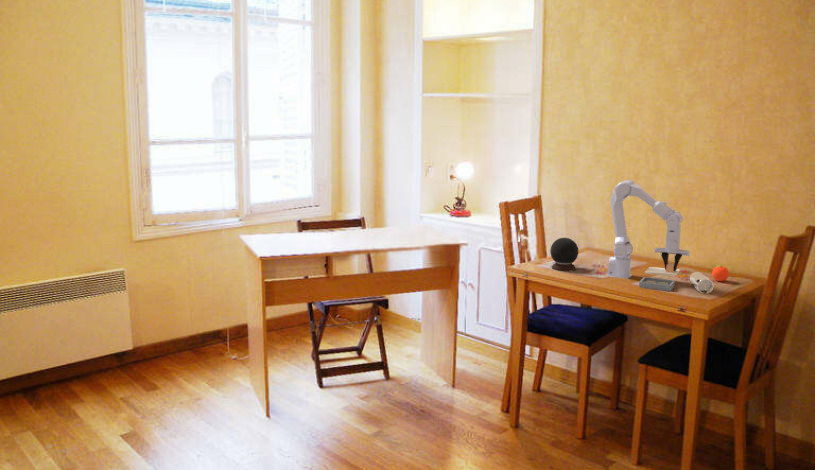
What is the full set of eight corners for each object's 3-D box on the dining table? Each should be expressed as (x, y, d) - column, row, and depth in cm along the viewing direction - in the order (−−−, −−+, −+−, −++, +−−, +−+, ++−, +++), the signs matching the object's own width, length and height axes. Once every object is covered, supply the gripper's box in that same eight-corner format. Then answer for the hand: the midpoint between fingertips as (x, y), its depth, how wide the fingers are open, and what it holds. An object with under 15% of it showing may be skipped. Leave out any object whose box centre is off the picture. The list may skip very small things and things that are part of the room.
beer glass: (706, 284, 332) (715, 292, 317) (689, 287, 333) (698, 295, 318) (703, 269, 331) (712, 276, 316) (687, 272, 332) (695, 279, 317)
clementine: (706, 279, 343) (707, 264, 341) (717, 278, 345) (719, 262, 344) (719, 283, 335) (721, 268, 334) (731, 282, 338) (733, 266, 337)
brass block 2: (658, 287, 326) (658, 283, 325) (657, 286, 327) (657, 282, 327) (667, 288, 325) (668, 283, 325) (667, 287, 327) (667, 282, 326)
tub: (638, 288, 326) (639, 281, 326) (643, 283, 335) (644, 276, 334) (670, 292, 320) (670, 285, 320) (674, 287, 329) (674, 280, 328)
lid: (645, 273, 334) (645, 264, 334) (649, 268, 343) (649, 260, 342) (675, 276, 328) (676, 267, 327) (679, 271, 336) (679, 262, 336)
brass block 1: (645, 285, 329) (645, 281, 328) (646, 284, 330) (646, 280, 330) (655, 287, 327) (655, 282, 326) (656, 286, 328) (656, 281, 328)
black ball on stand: (575, 272, 353) (576, 241, 350) (547, 270, 358) (548, 239, 355) (579, 266, 365) (581, 236, 362) (552, 264, 370) (553, 234, 367)
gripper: (654, 239, 331) (651, 269, 334) (688, 243, 324) (686, 273, 327) (657, 237, 337) (655, 266, 340) (691, 240, 330) (689, 270, 333)
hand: (670, 269), depth 334 cm, fingers closed on lid, 3 cm apart
